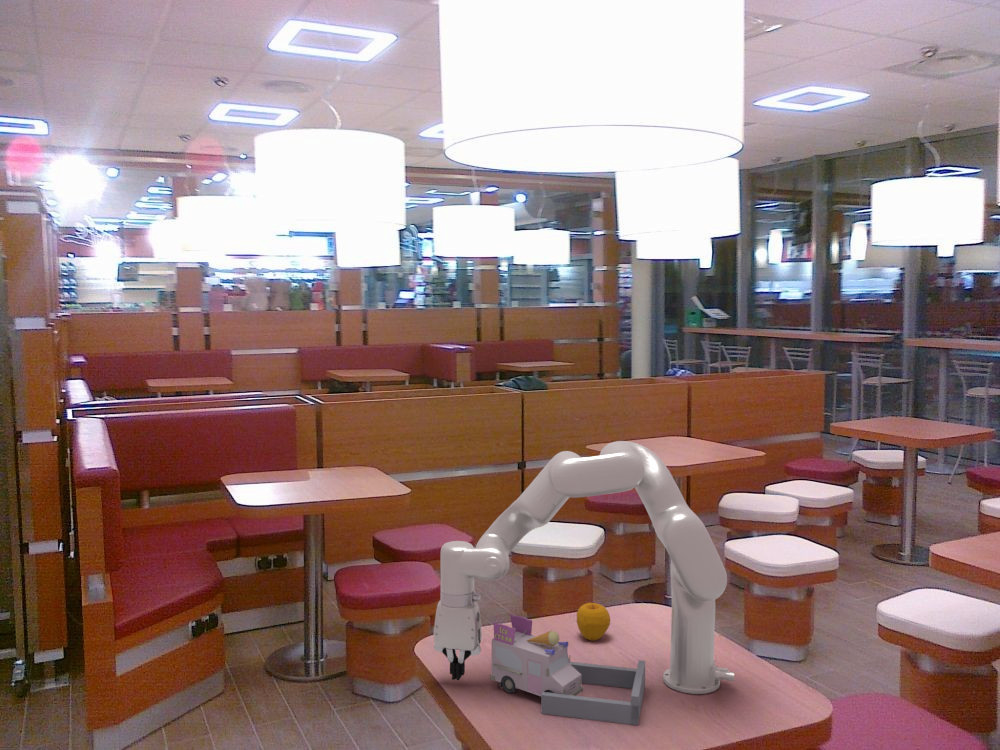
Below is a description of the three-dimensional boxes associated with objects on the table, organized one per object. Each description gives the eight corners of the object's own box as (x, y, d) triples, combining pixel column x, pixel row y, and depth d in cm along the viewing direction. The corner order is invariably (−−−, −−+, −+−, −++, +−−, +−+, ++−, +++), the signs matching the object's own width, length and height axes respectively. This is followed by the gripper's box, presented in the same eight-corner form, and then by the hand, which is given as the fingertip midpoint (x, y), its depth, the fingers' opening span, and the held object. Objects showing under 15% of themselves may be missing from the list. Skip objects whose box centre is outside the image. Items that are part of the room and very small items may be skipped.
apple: (616, 638, 222) (617, 604, 221) (594, 647, 216) (595, 612, 215) (591, 629, 228) (591, 596, 227) (569, 637, 222) (569, 603, 221)
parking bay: (644, 686, 194) (645, 660, 194) (637, 725, 177) (638, 696, 176) (556, 677, 199) (556, 651, 198) (541, 713, 182) (541, 685, 181)
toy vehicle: (561, 714, 181) (562, 644, 180) (487, 688, 193) (487, 622, 192) (584, 698, 189) (585, 631, 187) (512, 674, 201) (512, 610, 199)
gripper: (494, 595, 195) (493, 674, 197) (430, 589, 199) (430, 667, 201) (485, 606, 188) (485, 688, 190) (419, 600, 192) (420, 681, 193)
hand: (457, 677), depth 195 cm, fingers closed
